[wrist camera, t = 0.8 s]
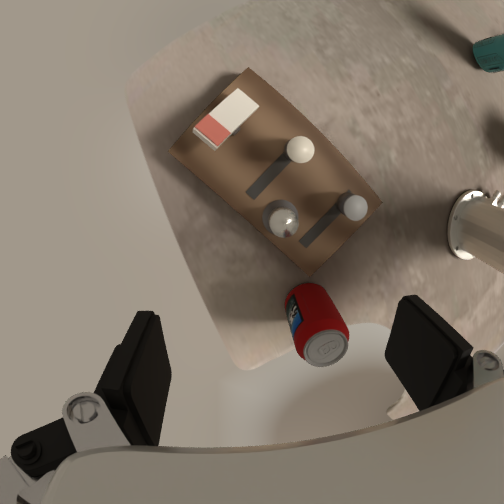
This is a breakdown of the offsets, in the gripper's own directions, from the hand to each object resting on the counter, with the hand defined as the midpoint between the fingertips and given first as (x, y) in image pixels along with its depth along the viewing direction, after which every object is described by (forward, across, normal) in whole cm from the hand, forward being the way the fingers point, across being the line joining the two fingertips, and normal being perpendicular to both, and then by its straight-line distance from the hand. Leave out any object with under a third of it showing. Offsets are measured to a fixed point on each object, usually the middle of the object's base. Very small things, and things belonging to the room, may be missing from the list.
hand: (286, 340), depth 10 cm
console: (+28, -4, -4) cm, 29 cm away
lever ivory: (+25, -6, -7) cm, 27 cm away
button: (+24, -4, +1) cm, 24 cm away
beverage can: (+28, -9, +14) cm, 33 cm away
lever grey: (+25, -12, -1) cm, 28 cm away
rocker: (+23, +2, -10) cm, 26 cm away
